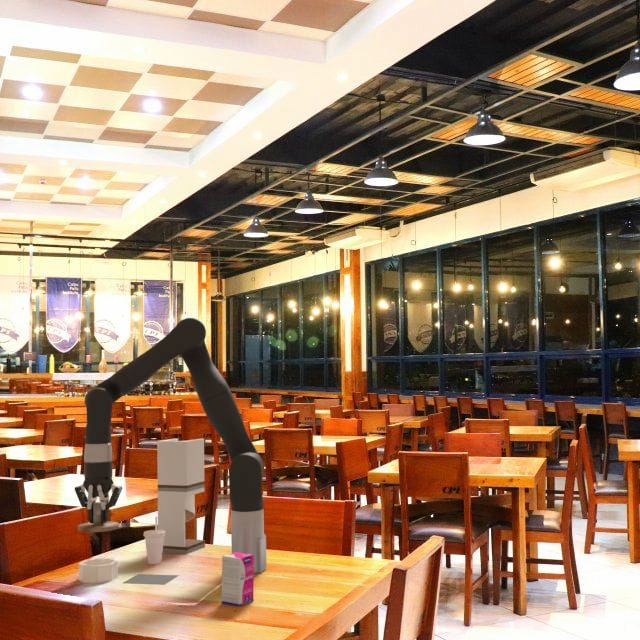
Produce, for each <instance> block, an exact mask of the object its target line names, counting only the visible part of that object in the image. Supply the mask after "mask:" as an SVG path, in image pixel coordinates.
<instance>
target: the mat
mask: <svg viewBox="0 0 640 640" xmlns="http://www.w3.org/2000/svg"><path fill="white" fill-rule="evenodd" d="M177 577H179V575H178V574H150V573H149V574H147V573H145V574H143V573H138V574H136V575H134V576H133V577H131V578H129V579H127V580H125V581H123V582H122V584H134V585H160V586H161V585H163V586H165V585H166V584H168V583H170V582H171V581H172V580H174V579H176V578H177Z"/></svg>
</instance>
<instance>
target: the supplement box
mask: <svg viewBox="0 0 640 640" xmlns="http://www.w3.org/2000/svg"><path fill="white" fill-rule="evenodd" d="M221 557H222V559H221V562H222V563H221V605H222V604H223V605H228V606H229V605H230V606H234V607H241V606H243V605H246V604H248V603H252V602H254V591H255V589H254V588H255V587H254V583H255V582H254V580H255V578H254V575H255V573H254V555H252V554H245V553H239V552H235V553H232V552H231V553H228V554H224V555H222V556H221Z"/></svg>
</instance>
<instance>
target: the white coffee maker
mask: <svg viewBox="0 0 640 640" xmlns="http://www.w3.org/2000/svg"><path fill="white" fill-rule="evenodd" d="M156 442H157V443H156V444H157V450H156V451H157V452H156V453H157V454H156V455H157V456H156V457H157V460H156V461H157V462H156V463H157V530H164V531H165V535H164V543H163V552H162V553H166V552H169V553H171V554H181V555H182V554H183V555H188V554H190V552H191V553H193V552H195V551H197V550H200V549H203V548H205V547H206V540H204V539H193V538H191V539H189V538H186V523H188V522H190V521H191V520H193V519H194V518H195V516H196V510H195V509H196V508H195V507H196V503H195V501H196V497H195V495H197V494H200V493H204V492H205V491H206V490H205V438H197V439H190V440H179V437H178V438H170V439H161V440H157V441H156Z"/></svg>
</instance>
